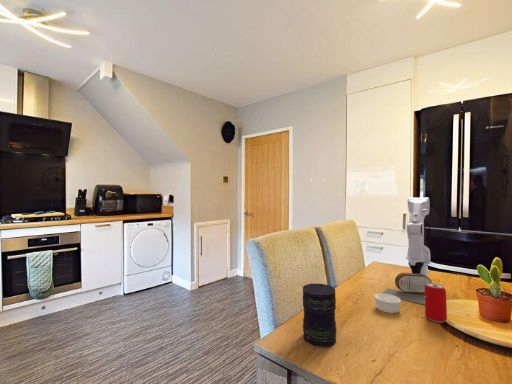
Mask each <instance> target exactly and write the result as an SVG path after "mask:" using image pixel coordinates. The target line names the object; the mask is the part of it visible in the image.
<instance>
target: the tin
mask: <svg viewBox="0 0 512 384" xmlns="http://www.w3.org/2000/svg"><path fill="white" fill-rule="evenodd" d="M426 283H433V282H432V280H431V278H429V276H428V277H427V276H426V275H424V274H417V273H411V272H400V273H398V274H397V275H396V277H395V278H394V285H395V287H396V288H397V290H399V291H402V292H407V293H411V294H424V295H425V293H424V288H425V286H426Z"/></svg>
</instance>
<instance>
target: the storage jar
mask: <svg viewBox="0 0 512 384" xmlns="http://www.w3.org/2000/svg"><path fill="white" fill-rule="evenodd" d="M336 299H337V298H336V289H335V287H333V286H331V285H329V284H325V283H324V284H323V283H307V284H305V285H303V286H302V307H303V318H302V331H303V335H302V336H303V337H304V338H303V337H302V338H303V340H304V342H306V343H307V342H308V343H309V344H308V343H307V344H308V345H310V344H311V345H310V346H312V345H313V346H312V347H315V346H318V347H317V348H319V347H322V348H321V349H326V347H327V348H331V347H333V346H335V345H336V343H337V322H336V310H337V309H336V308H337V306H336V303H337V300H336ZM323 347H324V348H323Z"/></svg>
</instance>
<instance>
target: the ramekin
mask: <svg viewBox="0 0 512 384" xmlns="http://www.w3.org/2000/svg"><path fill="white" fill-rule="evenodd" d="M374 298H375V305H376V308H377V309H378V310H379V311H381V312H384V313H389V314H397V313H399V312H400V311H401V309H400V308H401V302H402V300H401V299H399V298H398V297H396V296H393V295H389V294H381V293H376V294H375V295H374Z"/></svg>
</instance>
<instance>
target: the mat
mask: <svg viewBox="0 0 512 384" xmlns="http://www.w3.org/2000/svg"><path fill="white" fill-rule="evenodd" d="M380 294H389V295H393V296H396V297H398V298H399V299H400V300H401V301H405V302H409V303H414V304H418V305H422V306H425V295H419V294H417V293H407V292H403V291H401V290H399V289H393V288H387V289H385V290H384V291H383V292H381V293H380Z"/></svg>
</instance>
